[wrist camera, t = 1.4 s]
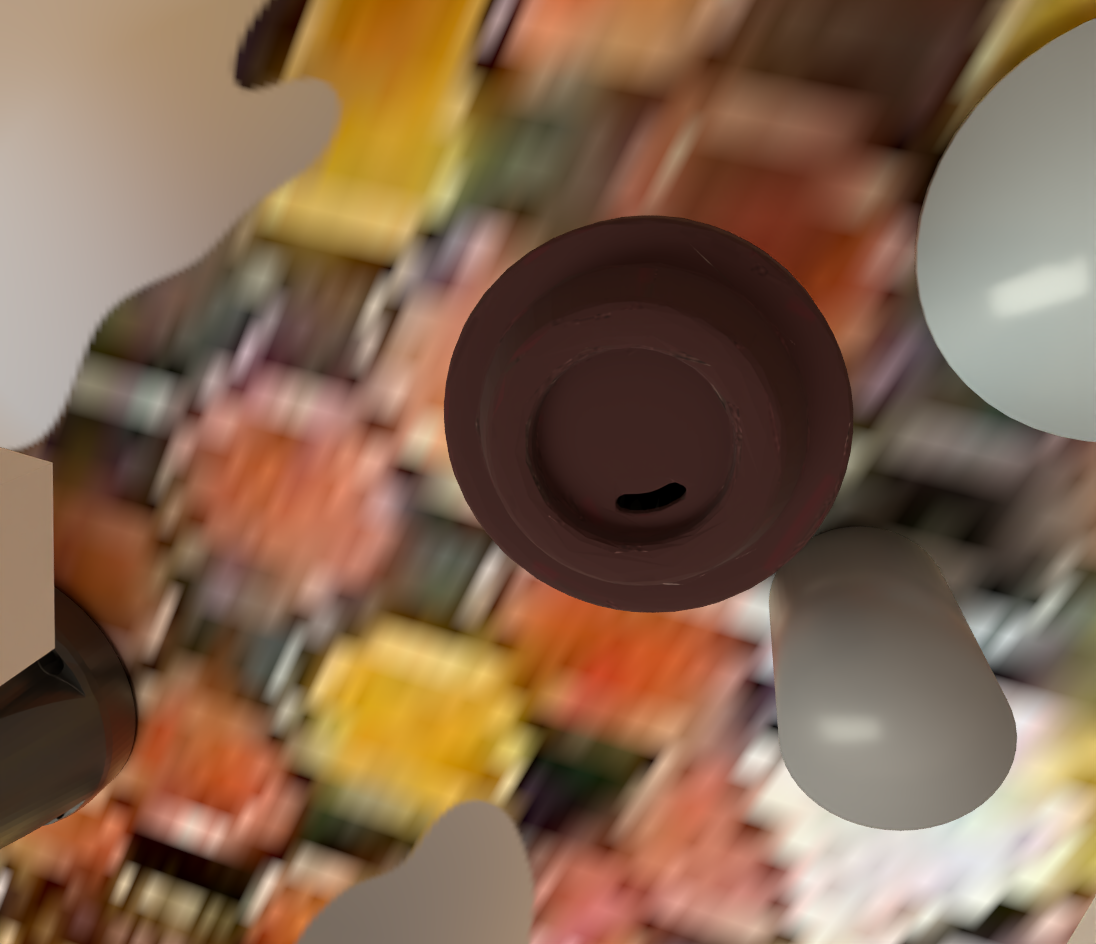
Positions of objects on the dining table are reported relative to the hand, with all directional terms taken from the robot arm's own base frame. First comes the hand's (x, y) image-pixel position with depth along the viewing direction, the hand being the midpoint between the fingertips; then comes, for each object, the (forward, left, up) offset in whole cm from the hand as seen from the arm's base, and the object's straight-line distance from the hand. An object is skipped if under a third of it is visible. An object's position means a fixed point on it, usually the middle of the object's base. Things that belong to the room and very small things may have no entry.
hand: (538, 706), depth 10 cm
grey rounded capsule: (+10, -9, -25) cm, 28 cm away
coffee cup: (0, 0, -25) cm, 25 cm away
